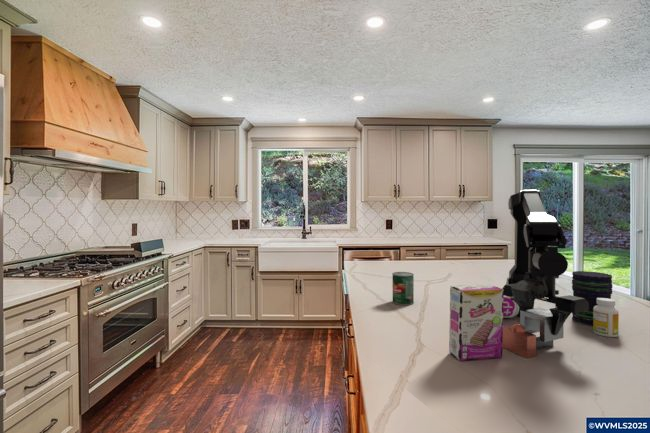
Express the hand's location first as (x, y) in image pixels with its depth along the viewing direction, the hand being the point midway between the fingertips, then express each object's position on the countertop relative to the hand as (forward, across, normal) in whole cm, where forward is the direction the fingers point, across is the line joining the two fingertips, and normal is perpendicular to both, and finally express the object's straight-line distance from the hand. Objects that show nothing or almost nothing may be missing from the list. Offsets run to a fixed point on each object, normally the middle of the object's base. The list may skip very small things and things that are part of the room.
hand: (541, 330), depth 84 cm
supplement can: (0, -25, 0) cm, 25 cm away
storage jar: (+4, -7, +33) cm, 34 cm away
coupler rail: (+4, 0, -4) cm, 5 cm away
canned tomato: (+4, -48, -8) cm, 49 cm away
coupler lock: (+1, 0, 0) cm, 1 cm away
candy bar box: (+4, -2, -20) cm, 21 cm away
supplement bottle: (+4, +1, +25) cm, 25 cm away
